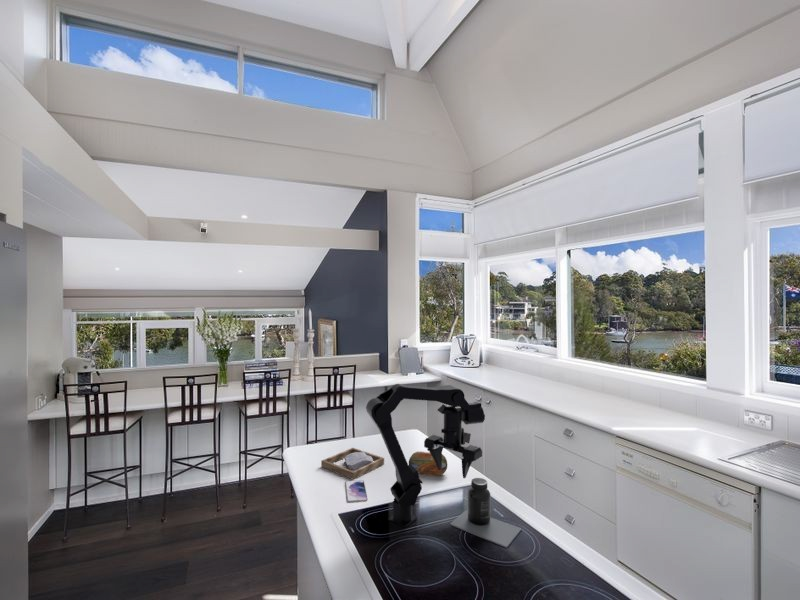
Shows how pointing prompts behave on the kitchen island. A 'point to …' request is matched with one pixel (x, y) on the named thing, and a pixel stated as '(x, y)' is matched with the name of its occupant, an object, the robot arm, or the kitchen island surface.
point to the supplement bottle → (479, 502)
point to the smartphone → (355, 491)
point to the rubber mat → (488, 530)
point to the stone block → (357, 460)
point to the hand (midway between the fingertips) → (452, 473)
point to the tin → (427, 464)
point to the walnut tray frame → (346, 472)
